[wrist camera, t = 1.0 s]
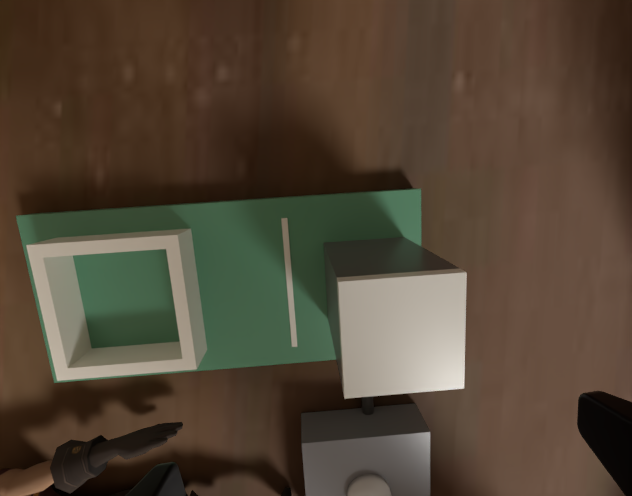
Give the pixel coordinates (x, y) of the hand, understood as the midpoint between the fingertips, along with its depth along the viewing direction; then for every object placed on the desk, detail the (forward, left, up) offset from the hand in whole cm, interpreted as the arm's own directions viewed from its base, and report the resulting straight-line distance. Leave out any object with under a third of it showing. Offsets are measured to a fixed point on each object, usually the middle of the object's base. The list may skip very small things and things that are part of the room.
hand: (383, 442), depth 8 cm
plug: (-2, 0, -11) cm, 11 cm away
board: (+5, 0, -12) cm, 14 cm away
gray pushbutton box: (-1, +10, -12) cm, 16 cm away
